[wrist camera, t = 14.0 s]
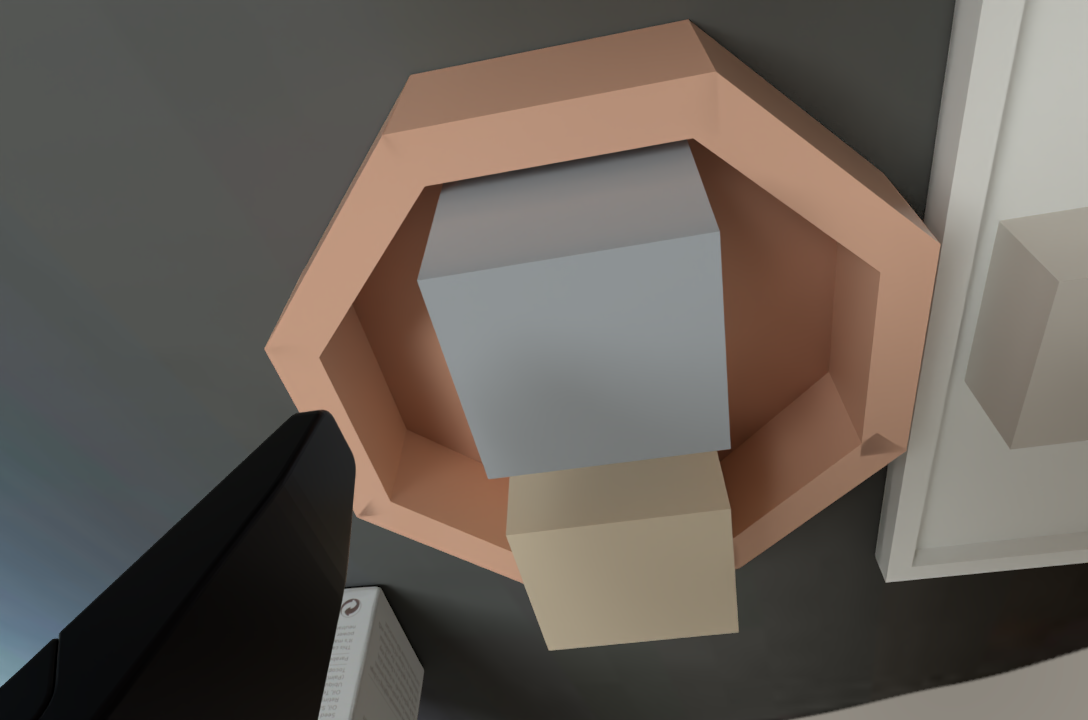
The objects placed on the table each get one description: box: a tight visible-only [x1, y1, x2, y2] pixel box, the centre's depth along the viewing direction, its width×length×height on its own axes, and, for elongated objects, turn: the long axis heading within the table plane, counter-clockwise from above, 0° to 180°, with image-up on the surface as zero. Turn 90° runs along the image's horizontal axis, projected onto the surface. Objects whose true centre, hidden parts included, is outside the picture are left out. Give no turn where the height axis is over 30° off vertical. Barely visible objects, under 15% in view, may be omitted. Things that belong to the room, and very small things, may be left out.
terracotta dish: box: [264, 19, 941, 584], centre depth 17 cm, size 13×13×3 cm
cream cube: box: [506, 451, 739, 651], centre depth 18 cm, size 4×4×5 cm
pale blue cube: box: [417, 139, 731, 479], centre depth 14 cm, size 4×4×5 cm
